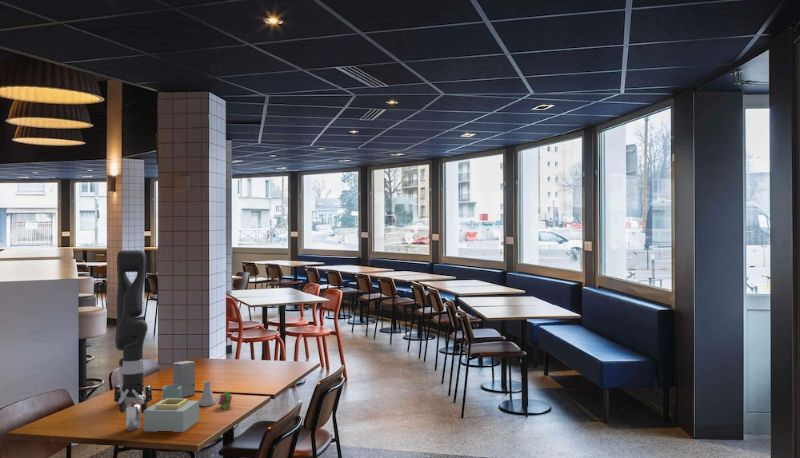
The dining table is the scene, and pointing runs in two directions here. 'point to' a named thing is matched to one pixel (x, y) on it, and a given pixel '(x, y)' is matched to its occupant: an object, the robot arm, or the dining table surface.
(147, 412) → the box with square opening
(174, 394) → the cup
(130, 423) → the spout can
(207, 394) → the flask
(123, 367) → the robot arm
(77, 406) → the dining table surface
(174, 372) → the skincare box
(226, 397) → the geometric puzzle
